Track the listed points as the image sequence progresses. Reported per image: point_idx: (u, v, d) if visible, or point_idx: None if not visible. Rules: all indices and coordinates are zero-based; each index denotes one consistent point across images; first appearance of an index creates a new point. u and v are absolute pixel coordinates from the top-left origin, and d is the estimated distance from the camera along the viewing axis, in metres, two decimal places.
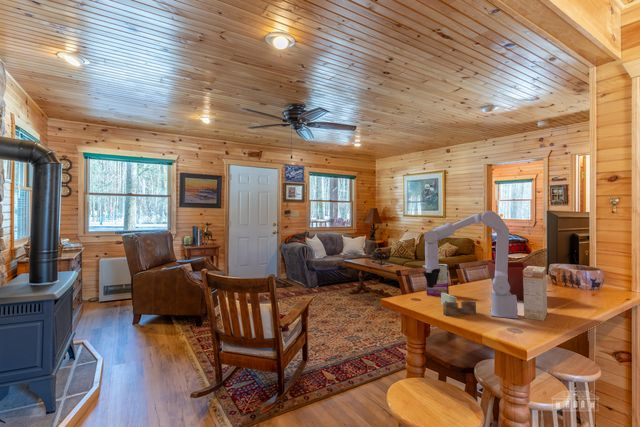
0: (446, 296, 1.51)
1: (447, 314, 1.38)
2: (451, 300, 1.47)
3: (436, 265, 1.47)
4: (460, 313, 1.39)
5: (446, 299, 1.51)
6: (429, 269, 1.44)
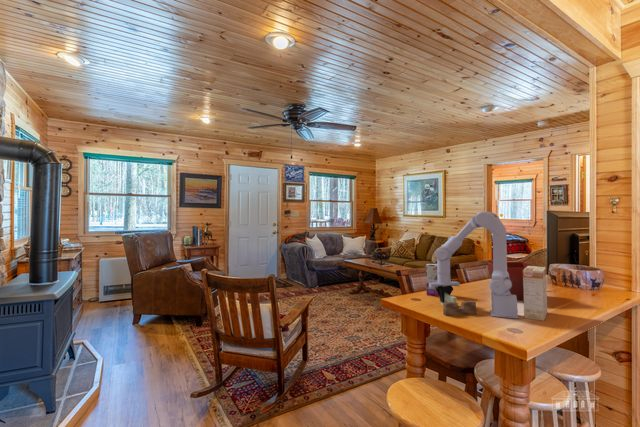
0: (446, 296, 1.51)
1: (447, 314, 1.38)
2: (451, 300, 1.47)
3: (443, 282, 1.52)
4: (460, 313, 1.39)
5: (446, 299, 1.51)
6: (430, 284, 1.53)
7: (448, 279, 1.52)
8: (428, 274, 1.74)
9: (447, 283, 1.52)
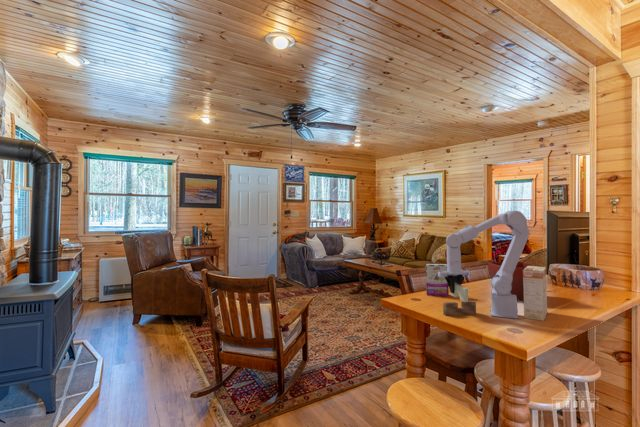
0: (457, 286, 1.40)
1: (447, 314, 1.38)
2: (462, 291, 1.36)
3: (453, 271, 1.41)
4: (460, 313, 1.39)
5: (457, 290, 1.40)
6: (439, 273, 1.42)
7: (459, 268, 1.41)
8: (428, 274, 1.74)
9: (458, 272, 1.41)
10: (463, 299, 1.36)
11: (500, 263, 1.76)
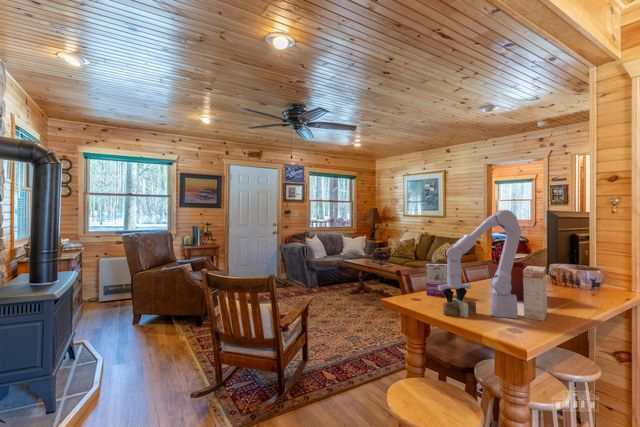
0: (456, 302, 1.40)
1: (447, 314, 1.38)
2: (462, 306, 1.36)
3: (454, 284, 1.41)
4: None
5: None
6: (439, 286, 1.42)
7: (459, 281, 1.41)
8: (428, 274, 1.74)
9: (458, 285, 1.40)
10: (463, 315, 1.36)
11: None
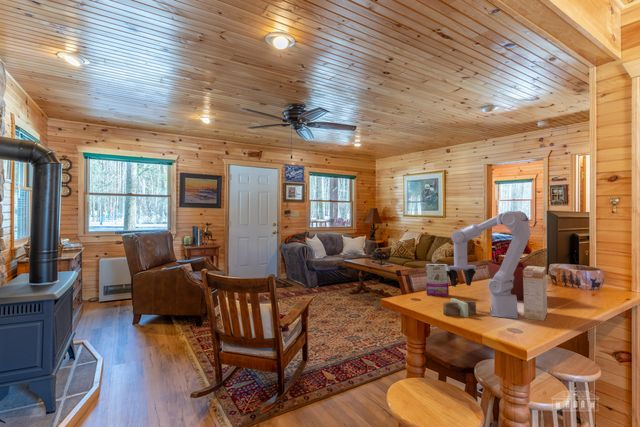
0: (456, 302, 1.40)
1: (447, 314, 1.38)
2: (462, 306, 1.36)
3: (460, 265, 1.50)
4: None
5: None
6: (447, 267, 1.50)
7: (465, 262, 1.50)
8: (428, 274, 1.74)
9: (464, 266, 1.49)
10: (463, 315, 1.36)
11: (500, 263, 1.76)
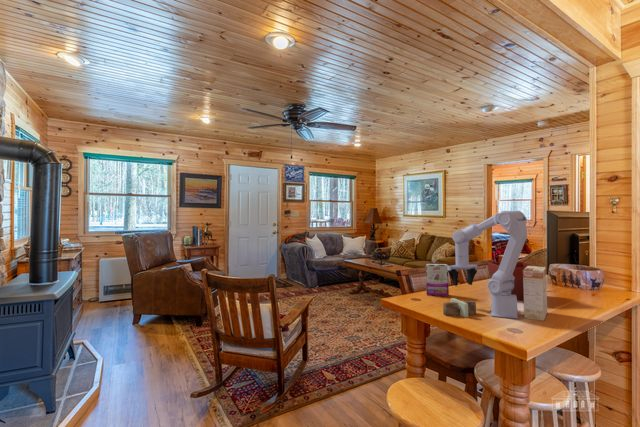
0: (456, 302, 1.40)
1: (447, 314, 1.38)
2: (462, 306, 1.36)
3: (462, 265, 1.51)
4: None
5: None
6: (448, 267, 1.52)
7: (467, 262, 1.52)
8: (428, 274, 1.74)
9: (466, 266, 1.51)
10: (463, 315, 1.36)
11: None
